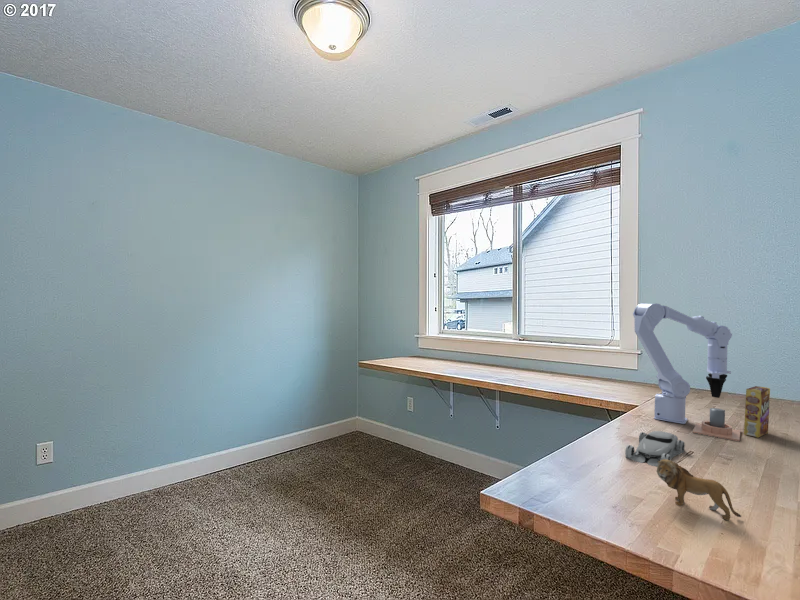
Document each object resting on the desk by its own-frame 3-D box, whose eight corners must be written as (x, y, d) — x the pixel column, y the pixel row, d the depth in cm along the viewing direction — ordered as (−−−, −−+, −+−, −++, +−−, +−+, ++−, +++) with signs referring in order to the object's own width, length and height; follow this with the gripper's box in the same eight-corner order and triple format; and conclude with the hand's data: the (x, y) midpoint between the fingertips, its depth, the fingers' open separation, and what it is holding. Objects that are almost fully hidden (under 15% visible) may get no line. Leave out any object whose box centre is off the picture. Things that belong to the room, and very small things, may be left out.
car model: (622, 459, 115) (622, 441, 115) (646, 438, 133) (646, 423, 133) (668, 471, 107) (669, 452, 107) (688, 447, 125) (688, 431, 125)
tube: (709, 430, 138) (709, 409, 138) (710, 428, 141) (710, 407, 141) (724, 433, 135) (724, 412, 135) (725, 430, 138) (725, 409, 138)
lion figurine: (654, 502, 91) (655, 461, 91) (657, 493, 95) (658, 453, 95) (741, 524, 82) (742, 479, 82) (740, 513, 86) (741, 470, 86)
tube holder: (692, 432, 137) (692, 425, 137) (696, 424, 146) (696, 417, 146) (739, 441, 129) (739, 433, 129) (740, 432, 139) (740, 424, 139)
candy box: (760, 438, 132) (761, 391, 132) (743, 434, 136) (744, 388, 136) (769, 433, 137) (770, 387, 137) (753, 430, 141) (754, 385, 141)
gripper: (730, 361, 142) (729, 400, 142) (732, 357, 153) (731, 393, 154) (705, 359, 147) (704, 397, 147) (708, 355, 158) (707, 390, 158)
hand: (716, 395), depth 151 cm, fingers open, 7 cm apart
